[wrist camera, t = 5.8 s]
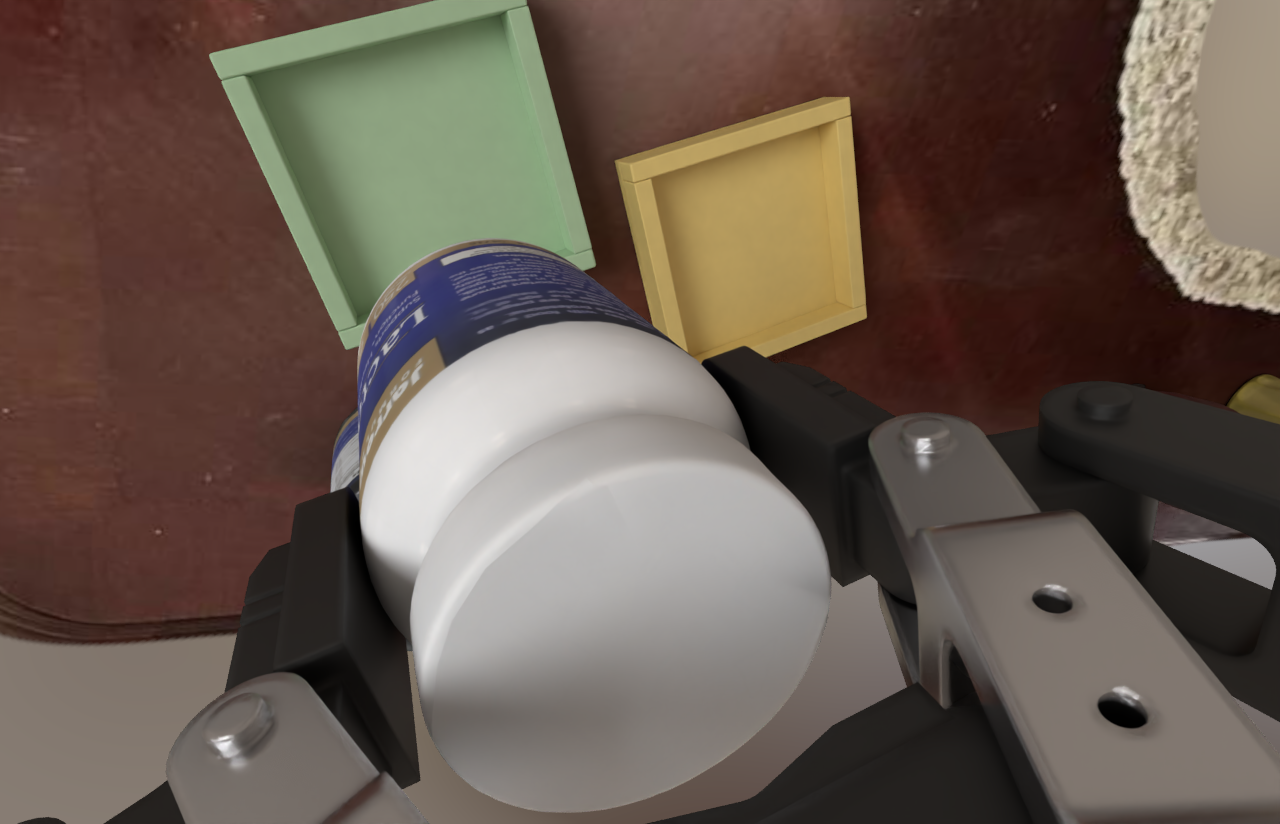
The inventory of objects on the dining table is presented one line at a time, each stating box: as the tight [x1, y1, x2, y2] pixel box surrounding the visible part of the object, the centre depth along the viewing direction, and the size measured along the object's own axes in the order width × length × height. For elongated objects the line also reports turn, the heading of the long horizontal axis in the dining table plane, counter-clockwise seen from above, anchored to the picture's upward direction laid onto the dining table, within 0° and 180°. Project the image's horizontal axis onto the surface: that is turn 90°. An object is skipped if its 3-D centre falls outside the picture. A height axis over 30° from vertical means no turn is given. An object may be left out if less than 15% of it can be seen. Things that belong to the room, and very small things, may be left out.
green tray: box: [209, 0, 596, 350], centre depth 27 cm, size 11×11×2 cm
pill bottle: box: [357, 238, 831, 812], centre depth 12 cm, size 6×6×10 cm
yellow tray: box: [615, 97, 867, 364], centre depth 33 cm, size 11×11×2 cm
